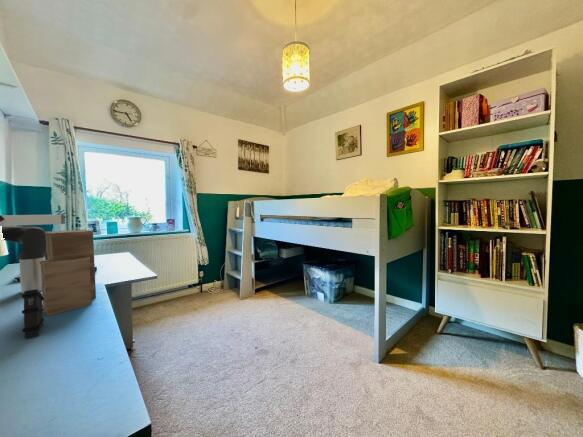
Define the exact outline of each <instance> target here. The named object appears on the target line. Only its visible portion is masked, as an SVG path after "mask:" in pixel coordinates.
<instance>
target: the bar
mask: <svg viewBox="0 0 583 437" xmlns="http://www.w3.org/2000/svg"><path fill="white" fill-rule="evenodd" d="M0 215H1V214H0ZM1 216H2V217H3V218H4V220H3V221H0V226H39V225H40V226H43V225H44V226H45V225H65V224H66V214H15V215H14V214H9V215H5V214H4V215H3V214H2V215H1Z"/></svg>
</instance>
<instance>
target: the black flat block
mask: <svg viewBox="0 0 583 437" xmlns="http://www.w3.org/2000/svg"><path fill="white" fill-rule="evenodd" d="M21 296H22V297H21V298H23V310H21V314H22V315H23V328H22V333H24V339H25V340H28V339H33V338H36V337H38V336H39V335H40V334H41V333H40V332H41V331H42V328H43V325H44V321H45V318H43V311H44V309H43V300H44V298H43V297H42V292H41V291H39V290H38V289H35V290H29V291H24V293H23V294H22V295H21Z"/></svg>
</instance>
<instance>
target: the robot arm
mask: <svg viewBox="0 0 583 437" xmlns="http://www.w3.org/2000/svg"><path fill="white" fill-rule="evenodd" d="M3 220H4V218H3V217H2V216H1V214H0V221H3ZM45 232H46V230H45V229H44V228H42V227H39V226H38V227H37V226H20V225H18V226H2V233H3V238H5V239H4V240H5V241H6V242H10V243H11V242H13V243H17V244H20V245H21V244H22V247H21V248H22V250H21V252H20V253H19V255H18V262H19V274H20V275H19V276H20V293H21V294H24V291H29V290H35V289H38V290H39V291H40V292H42V281H41V264H40V261H46V260H47V259H46V254H47V252H46V234H45ZM4 240H3V241H4Z"/></svg>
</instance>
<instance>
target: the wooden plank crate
mask: <svg viewBox="0 0 583 437" xmlns="http://www.w3.org/2000/svg"><path fill="white" fill-rule="evenodd" d="M94 233H95V232H94V230H91V229H85V228H84V229H71V230H70V229H69V230H55V231H45V234H46V259H45V260H46V261H40V264H41V281H42V291H41V294H42V297H43V298H44V300H42V309H44V311H42V313H43V314H45V315H46V317H47V316H48V317H49V316H53V315H56V314H60V313H64V312H67V311H71V310H75V309H79V308H83V307H86V306H90V305H92V299H95V298H97V292H96V287H97V286H96V269H95V249H94V248H95V246H94V245H95V244H94Z"/></svg>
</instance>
